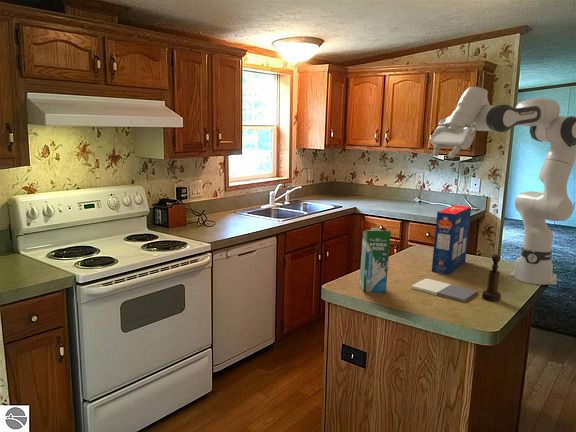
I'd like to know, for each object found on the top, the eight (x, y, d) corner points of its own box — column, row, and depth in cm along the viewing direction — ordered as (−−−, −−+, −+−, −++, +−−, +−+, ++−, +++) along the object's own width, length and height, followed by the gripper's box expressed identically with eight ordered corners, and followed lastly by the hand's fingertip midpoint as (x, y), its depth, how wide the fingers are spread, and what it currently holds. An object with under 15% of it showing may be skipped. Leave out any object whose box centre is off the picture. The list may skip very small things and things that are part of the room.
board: (425, 280, 205) (426, 278, 205) (477, 293, 191) (477, 291, 191) (410, 288, 195) (411, 285, 194) (464, 302, 181) (464, 299, 180)
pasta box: (449, 259, 242) (454, 205, 237) (465, 262, 238) (471, 207, 233) (431, 271, 220) (437, 211, 214) (449, 275, 215) (455, 214, 210)
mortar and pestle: (495, 296, 189) (501, 252, 186) (503, 302, 183) (509, 256, 179) (479, 295, 189) (484, 251, 186) (486, 301, 182) (492, 256, 179)
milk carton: (381, 285, 197) (385, 226, 193) (385, 292, 188) (390, 230, 184) (359, 284, 197) (363, 225, 192) (363, 292, 188) (367, 230, 183)
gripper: (484, 129, 174) (466, 162, 174) (447, 129, 193) (431, 158, 193) (472, 120, 172) (454, 154, 172) (437, 120, 191) (420, 151, 191)
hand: (442, 156), depth 183 cm, fingers open, 8 cm apart
